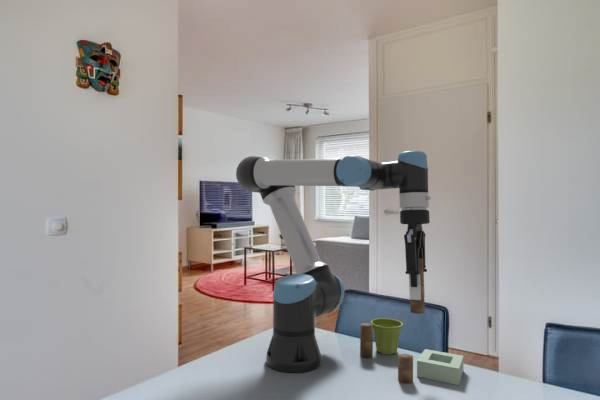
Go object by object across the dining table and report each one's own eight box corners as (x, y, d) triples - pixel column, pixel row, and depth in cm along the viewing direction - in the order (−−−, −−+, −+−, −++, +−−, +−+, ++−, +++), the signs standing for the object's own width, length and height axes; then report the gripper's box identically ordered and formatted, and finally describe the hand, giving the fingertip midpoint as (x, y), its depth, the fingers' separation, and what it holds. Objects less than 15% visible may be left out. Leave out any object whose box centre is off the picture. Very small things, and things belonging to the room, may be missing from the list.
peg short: (396, 381, 96) (396, 357, 96) (400, 376, 99) (400, 352, 99) (411, 384, 94) (411, 360, 94) (414, 379, 97) (414, 355, 98)
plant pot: (403, 358, 112) (403, 327, 112) (370, 355, 114) (370, 325, 114) (401, 347, 121) (401, 319, 121) (371, 344, 123) (371, 317, 123)
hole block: (417, 376, 99) (417, 360, 99) (424, 363, 108) (424, 349, 108) (458, 385, 94) (458, 368, 94) (463, 370, 103) (463, 355, 103)
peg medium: (358, 356, 112) (358, 325, 113) (362, 353, 115) (362, 322, 116) (370, 359, 111) (370, 327, 111) (374, 355, 114) (374, 324, 114)
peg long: (409, 312, 101) (407, 259, 102) (412, 310, 104) (410, 257, 105) (423, 314, 99) (421, 259, 100) (426, 311, 102) (424, 258, 103)
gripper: (421, 208, 94) (424, 305, 93) (435, 209, 109) (438, 293, 107) (391, 209, 98) (394, 302, 97) (408, 210, 112) (411, 291, 111)
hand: (417, 297), depth 102 cm, fingers closed on peg long, 3 cm apart
